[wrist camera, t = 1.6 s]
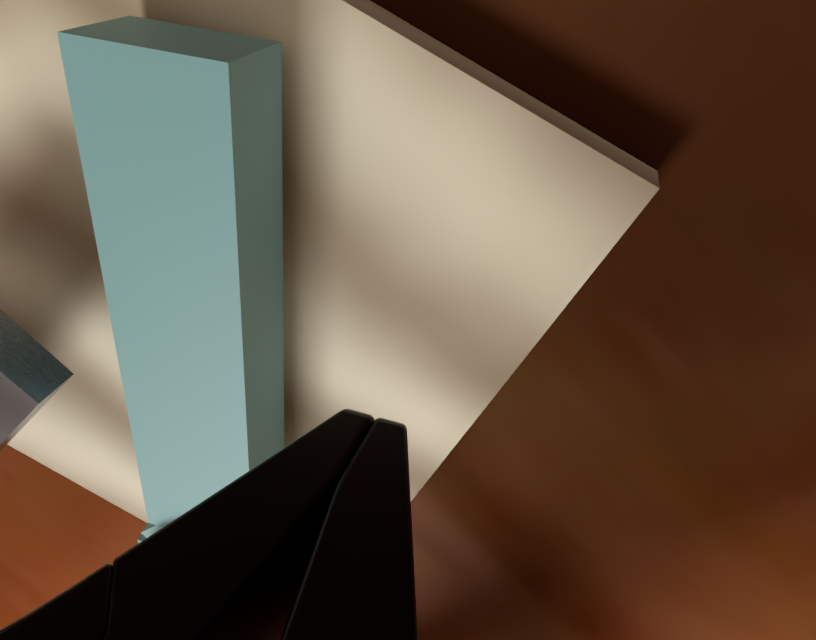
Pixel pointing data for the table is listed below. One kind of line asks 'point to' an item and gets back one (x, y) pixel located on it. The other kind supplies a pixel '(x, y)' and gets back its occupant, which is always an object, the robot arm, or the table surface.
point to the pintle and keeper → (24, 378)
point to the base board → (324, 227)
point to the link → (186, 243)
